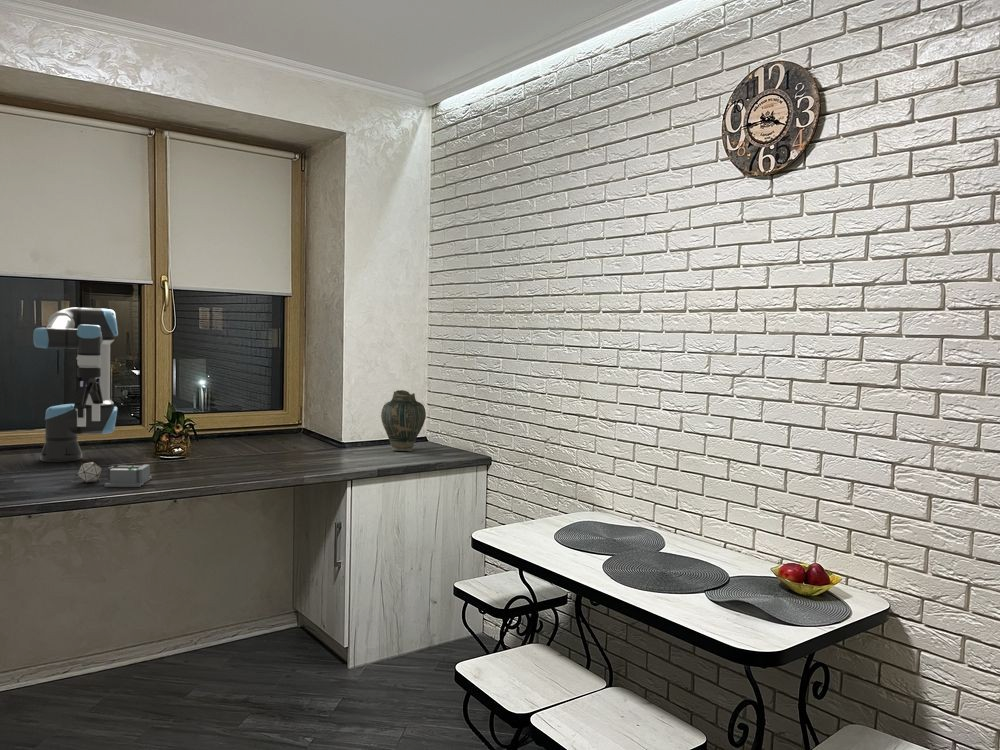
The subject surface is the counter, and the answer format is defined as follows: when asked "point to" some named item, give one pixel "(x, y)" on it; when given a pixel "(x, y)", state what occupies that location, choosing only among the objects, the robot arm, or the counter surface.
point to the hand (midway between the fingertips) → (88, 423)
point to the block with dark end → (115, 468)
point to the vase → (403, 420)
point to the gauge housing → (129, 476)
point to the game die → (89, 472)
